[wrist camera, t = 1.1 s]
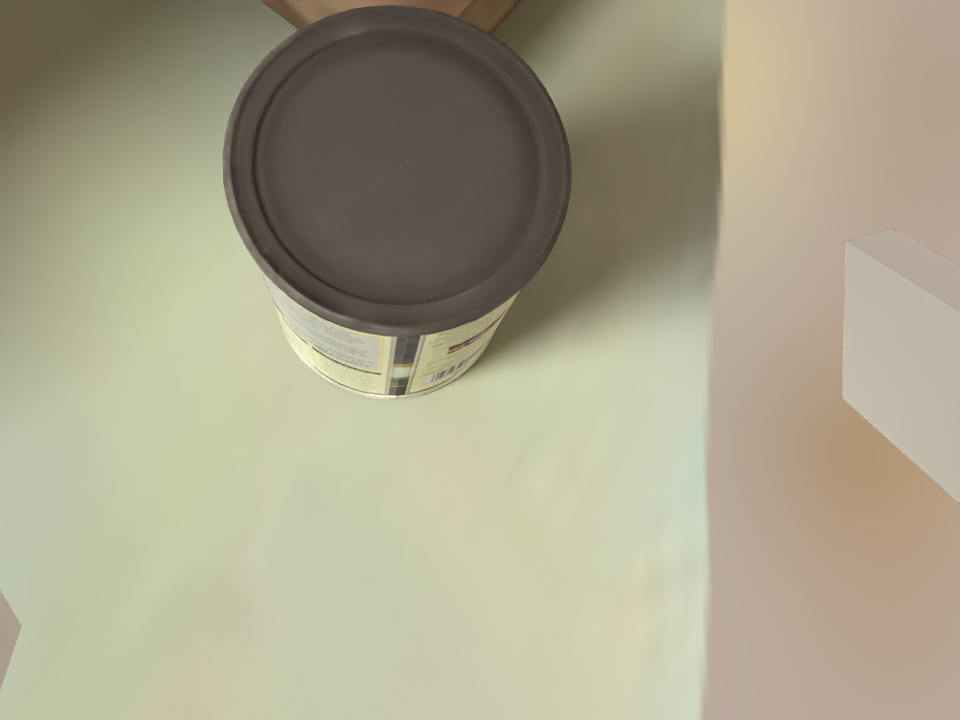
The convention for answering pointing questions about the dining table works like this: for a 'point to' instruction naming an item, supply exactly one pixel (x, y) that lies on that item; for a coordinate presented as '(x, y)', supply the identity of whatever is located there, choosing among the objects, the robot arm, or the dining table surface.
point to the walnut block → (476, 3)
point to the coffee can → (395, 192)
